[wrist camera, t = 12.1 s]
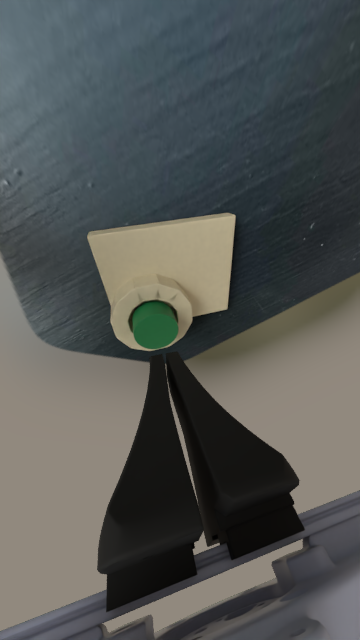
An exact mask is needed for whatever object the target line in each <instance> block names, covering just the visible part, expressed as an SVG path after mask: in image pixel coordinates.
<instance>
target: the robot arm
mask: <svg viewBox="0 0 360 640" xmlns="http://www.w3.org/2000/svg"><path fill="white" fill-rule="evenodd" d="M149 359H150V375H149V382H148V390H147V395H146V399H145V404H144V408H143V412H142V416H141V419H140V423H139V426H138V430H137V433H136V436H135V439H134V442H133V445H132V448H131V451H130V453H129V456H128V458H127V461H126V464H125V466H124V469H123V472H122V474H121V476H120V479H119V481H118V484H117V486H116V488H115V491H114V493H113V495H112V498H111V500H110V502H109V504H108V507H107V511H106V515H105V518H104V522H103V526H102V530H101V535H100V540H99V548H98V566H97V570H98V571H99V572H100V573H101V574H107V590H104V591H102V592H99V593H97V594H94V595H92V596H89V597H87V598H84V599H81V600H79V601H76V602H74V603H71V604H69V605H66V606H64V607H61V608H59V609H56V610H53V611H51V612H48V613H46V614H43V615H41V616H38V617H36V618H33V619H30V620H28V621H25V622H23V623H20V624H18V625H15V626H13V627H10V628H8V629H5V630H2V631H0V640H360V490H359V491H357V492H354V493H352V494H349V495H347V496H344V497H342V498H339V499H336V500H334V501H331V502H329V503H326V504H324V505H321V506H319V507H316V508H314V509H311V510H308V511H306V512H303V513H301V514H298V515H297V513H296V511H295V509H294V507H293V505H294V501H293V499H292V497H291V495H290V492H291V491H292V490H293V489H295V488H296V487H297V486H298V485H299V479H298V477H297V475H296V474H295V472H294V470H293V469H292V468H291V466H290V464H289V463H288V462H287V460H286V459H285V458H284V456H283V455H282V454H281V453H279V452H278V451H276V450H275V449H274V448H272V447H271V446H269V445H268V444H266V443H265V442H264V441H262V440H261V439H260V438H258V437H257V436H256V435H254V434H253V433H252V432H251V431H249V430H248V429H247V428H246V427H244V426H243V425H242V424H241V423H239V422H238V421H237V420H236V419H235V418H234V417H232V416H231V415H230V414H229V413H228V412H227V411H226V410H225V409H223V408H222V406H221V405H219V404H218V403H217V402H216V401H215V400H214V399H213V398H212V396H211V395H210V394H209V393H208V392H207V391H206V390H205V389H204V388H203V387H202V385H201V384H200V383H199V382H198V381H197V379H196V378H195V377H194V375H193V374H192V373H191V372H190V370H189V369H188V367H187V366H186V365H185V363H184V362H183V360H182V358H181V357H180V355H179V353H178V352H172V353H166V363H167V376H166V369H165V363H164V360H163V356H162V354H161V355H155V356H151V357H150V358H149ZM167 378H168V383H169V388H170V393H171V396H172V399H173V402H174V406H175V409H176V412H177V415H178V418H179V422H180V425H181V428H182V431H183V434H184V439H185V443H186V448H187V452H188V457H189V461H190V466H191V470H192V475H193V480H194V485H195V490H196V495H197V499H198V503H197V499H196V496H195V493H194V490H193V486H192V483H191V479H190V475H189V472H188V468H187V465H186V461H185V458H184V454H183V450H182V447H181V443H180V440H179V435H178V432H177V428H176V424H175V420H174V416H173V412H172V408H171V404H170V398H169V392H168V384H167ZM198 504H199V506H198ZM199 509H200V510H199ZM203 530H204V535H205V539H206V543H207V546H208V547H209V546H211V545H214V544H217V543H220V545H219V546H217V547H214V548H211V549H209V550H206V551H204V552H201V553H199V554H197V555H193V549H194V548H195V546H194V542H196V541H198V540H199V538H200V536H201V534H202V532H203ZM303 538H304V539H303ZM301 539H303V548H302V549H301V550H298V551H295V552H292V553H290V554H287V555H285V556H283V557H281V558H279V559H277V560H275V561H273V562H272V567H273V569H274V573H275V575H276V578H275V579H272V580H270V581H268V582H265V583H263V584H260V585H258V586H255V587H253V588H251V589H248V590H246V591H244V592H241V593H238V594H236V595H234V596H231V597H229V598H227V599H224V600H222V601H220V602H217V603H215V604H213V605H211V606H209V607H206V608H204V609H202V610H200V611H198V612H196V613H194V614H192V615H190V616H188V617H186V618H183V619H181V620H179V621H177V622H175V623H173V624H171V625H169V626H167V627H165V628H163V629H161V630H159V631H157V632H155V633H154V629H153V617H152V616H151V615H148V616H145V617H143V618H140V619H137V620H135V621H133V622H130V623H128V624H125V625H124V626H121V627H119V628H117V629H115V630H113V631H111V632H110V633H109V632H108V631H107V629H106V626H105V625H104V624H102V623H104V622H106V621H109V620H111V619H114V618H116V617H118V616H121V615H123V614H125V613H128V612H130V611H133V610H135V609H137V608H140V607H142V606H145V605H147V604H149V603H151V602H153V601H156V600H159V599H161V598H163V597H166V596H168V595H171V594H173V593H175V592H178V591H180V590H182V589H185V588H187V587H189V586H192V585H194V584H197V583H199V582H201V581H203V580H206V579H208V578H211V577H213V576H215V575H218V574H220V573H222V572H225V571H227V570H229V569H232V568H234V567H237V566H239V565H241V564H244V563H246V562H249V561H251V560H253V559H256V558H258V557H260V556H263V555H265V554H267V553H270V552H272V551H274V550H277V549H279V548H282V547H284V546H286V545H289V544H291V543H293V542H296V541H298V540H301Z"/></svg>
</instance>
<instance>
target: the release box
mask: <svg viewBox="0 0 360 640" xmlns="http://www.w3.org/2000/svg"><path fill="white" fill-rule="evenodd" d="M235 218H236V216H235V215H233V214H230V213H222V214H215V215H207V216H200V217H193V218H185V219H178V220H171V221H164V222H156V223H149V224H142V225H134V226H127V227H120V228H112V229H105V230H98V231H90V232H89V233H88V235H87V238H88V241H89V244H90V247H91V250H92V253H93V256H94V258H95V261H96V264H97V267H98V270H99V273H100V276H101V279H102V281H103V284H104V287H105V290H106V293H107V296H108V299H109V301H110V304H111V318H110V322H111V325H112V327H113V330H114V333H115V335H116V337H117V339H119V340H120V341H122V342H123V343H124V344H126V345H127V346H129V347H130V348H133V349H139V350H146V351H153V350H157V349H147V348H144V347H142V346H140V345H139V344H138V343H137V342H136V341H135V339H134V334H133V323H132V317H133V314H134V312H135V310H136V309H137V308H138V307H139V306H141V305H142V304H144V303H147V302H150V301H159V302H163V303H165V304H167V305H168V306H169V307H170V308H171V309H172V311H173V314H174V316H175V319H176V321H177V324H178V328H179V330H178V335H177V337H176V338H175V340H174V341H173V342H172V343H170V344H169V345H167V346H165V347H168V346H171V345H172V344H173V343H175V342H176V341H178V340H179V339H181V338H182V337H183V336H184V335H185V333H186V332H187V330H188V328H189V326H190V325H191V323H192V317H194V316H199V315H203V314H208V313H213V312H217V311H222V310H227V308H228V297H229V286H230V275H231V263H232V252H233V241H234V229H235ZM165 347H163V348H165ZM160 349H161V348H160Z"/></svg>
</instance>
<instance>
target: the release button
mask: <svg viewBox="0 0 360 640" xmlns="http://www.w3.org/2000/svg"><path fill="white" fill-rule="evenodd" d="M132 323H133V334H134V339H135V341H136V342H137V343H138V344H139V345H140V346H142V347H144V348H147V349H160V348H163V347H165V346H167V345H169V344H170V343H172V342H173V341H174V340H175V338H176V337H177V335H178V330H179V328H178V324H177V321H176V319H175V316H174V314H173V311H172V309H171V308H170V307H169V306H168V305H167V304H165V303H163V302H159V301H150V302H147V303H144V304H142V305H141V306H139V307H138V308H137V309H136V310H135V312H134V314H133V317H132Z"/></svg>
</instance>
